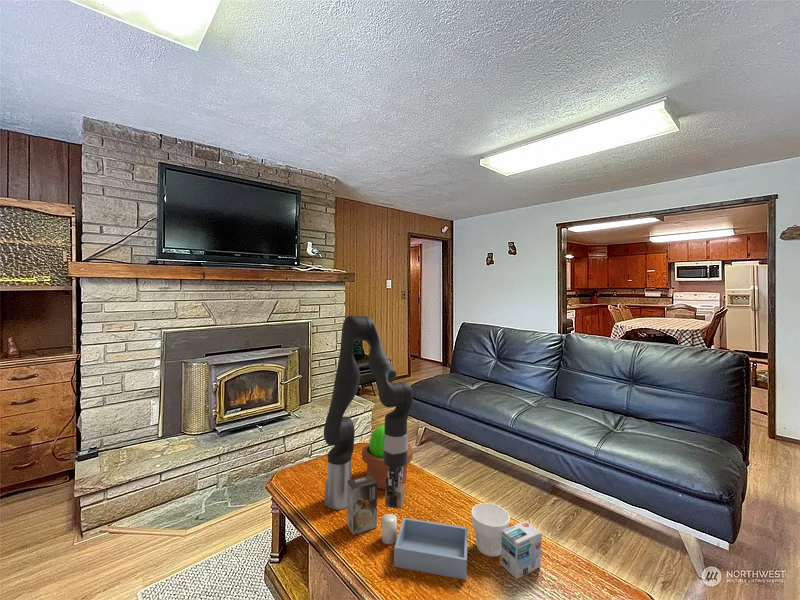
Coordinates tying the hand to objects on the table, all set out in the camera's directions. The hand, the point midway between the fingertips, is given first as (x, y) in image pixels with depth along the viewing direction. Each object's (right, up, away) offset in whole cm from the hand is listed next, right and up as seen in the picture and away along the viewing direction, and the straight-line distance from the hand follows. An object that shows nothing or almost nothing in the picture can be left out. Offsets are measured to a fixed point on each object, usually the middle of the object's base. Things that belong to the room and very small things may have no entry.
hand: (394, 501), depth 109 cm
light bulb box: (+39, -19, -2) cm, 43 cm away
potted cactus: (-4, -17, +47) cm, 51 cm away
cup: (+31, -19, +6) cm, 37 cm away
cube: (0, 0, 0) cm, 0 cm away
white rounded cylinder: (-2, -18, +9) cm, 20 cm away
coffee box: (-12, -18, +15) cm, 26 cm away
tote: (+12, -18, +2) cm, 22 cm away
